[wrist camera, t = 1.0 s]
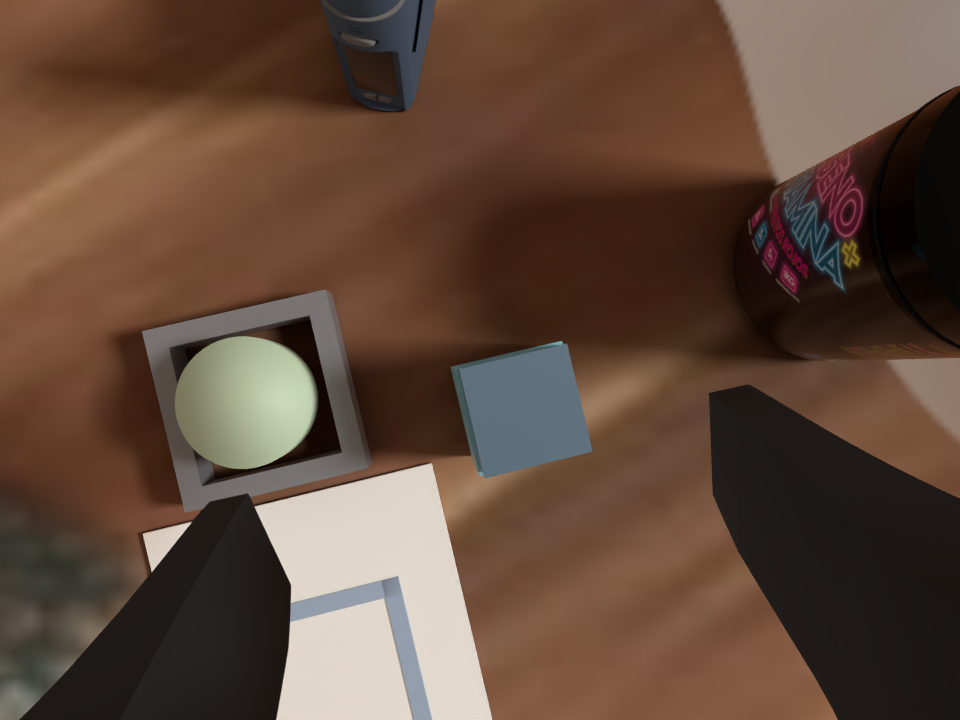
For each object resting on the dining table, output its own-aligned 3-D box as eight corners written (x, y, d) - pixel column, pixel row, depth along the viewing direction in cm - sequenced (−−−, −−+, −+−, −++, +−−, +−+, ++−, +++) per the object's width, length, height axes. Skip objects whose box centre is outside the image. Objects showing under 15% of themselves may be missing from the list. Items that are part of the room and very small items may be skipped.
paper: (517, 825, 25) (518, 829, 25) (233, 903, 25) (230, 909, 24) (431, 462, 25) (431, 463, 25) (145, 532, 25) (141, 534, 24)
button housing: (372, 462, 25) (368, 468, 24) (200, 504, 25) (184, 512, 23) (332, 294, 25) (325, 289, 24) (159, 333, 25) (142, 331, 23)
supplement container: (865, 150, 26) (1144, 8, 16) (930, 323, 26) (1250, 294, 16) (695, 214, 26) (867, 110, 16) (762, 390, 26) (978, 404, 16)
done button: (330, 445, 24) (323, 451, 22) (208, 475, 23) (191, 482, 22) (302, 326, 24) (292, 323, 22) (179, 354, 23) (161, 353, 22)
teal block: (559, 434, 26) (596, 454, 20) (471, 455, 25) (481, 482, 19) (538, 346, 26) (569, 339, 20) (450, 367, 25) (454, 366, 19)
